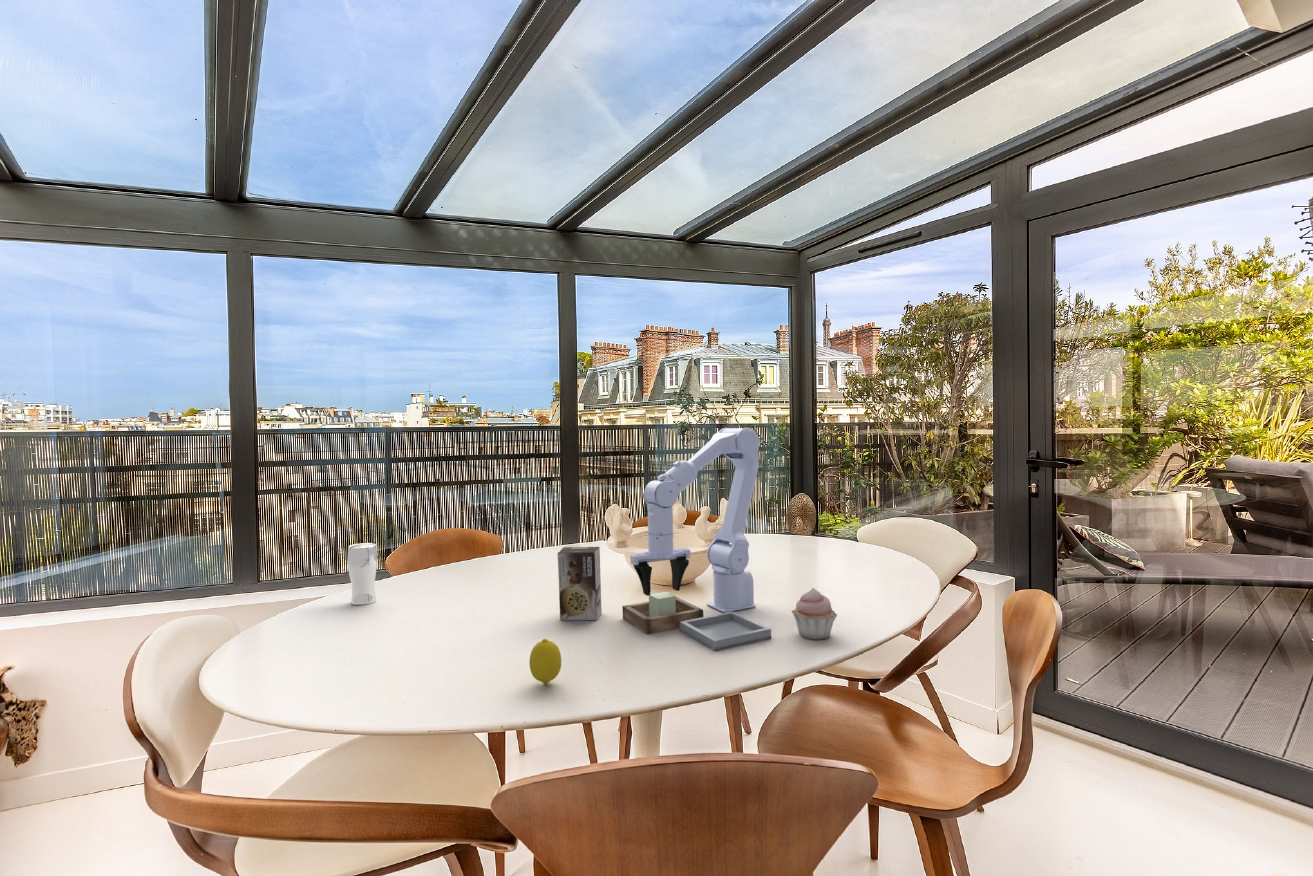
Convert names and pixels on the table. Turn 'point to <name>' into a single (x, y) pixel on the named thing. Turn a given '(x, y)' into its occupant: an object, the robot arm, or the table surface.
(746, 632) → the tray
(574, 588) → the coffee box
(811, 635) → the cupcake
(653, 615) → the block
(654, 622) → the frame
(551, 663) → the lemon
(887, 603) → the table surface
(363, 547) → the beer glass
